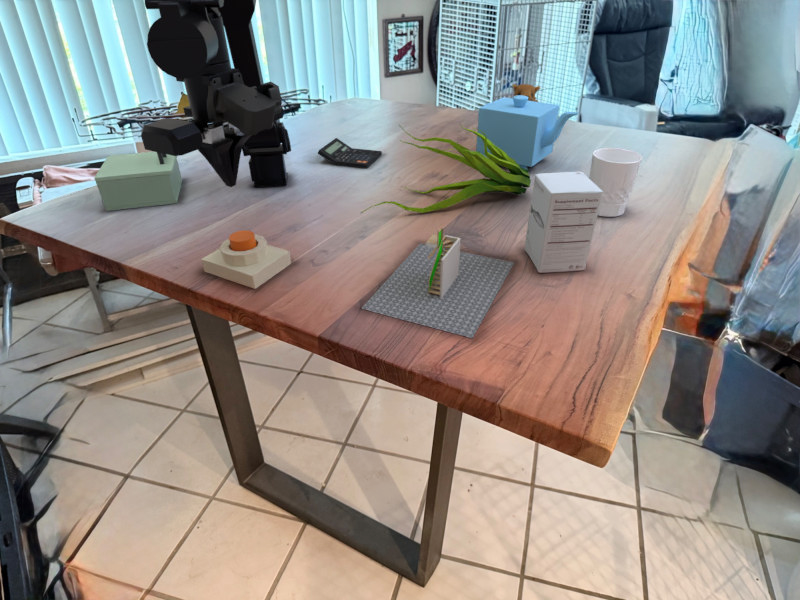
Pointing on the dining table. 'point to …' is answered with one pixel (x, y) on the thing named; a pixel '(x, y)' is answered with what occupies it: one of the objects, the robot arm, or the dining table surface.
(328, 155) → the calculator
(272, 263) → the control block
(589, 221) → the white packaging box
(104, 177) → the box lid
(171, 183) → the green lidded box
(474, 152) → the decorative plant
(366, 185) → the dining table surface
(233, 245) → the button
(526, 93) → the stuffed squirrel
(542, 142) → the teapot
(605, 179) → the white cup
